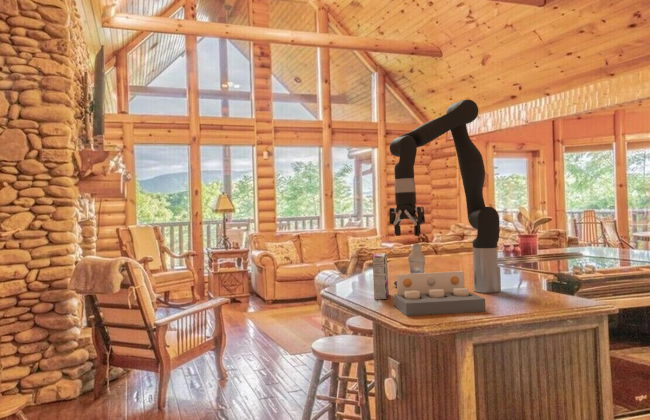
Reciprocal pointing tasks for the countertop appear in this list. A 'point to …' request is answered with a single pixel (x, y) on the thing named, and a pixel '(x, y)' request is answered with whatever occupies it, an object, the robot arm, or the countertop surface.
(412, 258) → the metal water bottle
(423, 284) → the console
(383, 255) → the candy bar box
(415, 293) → the button
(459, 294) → the button
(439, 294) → the button middle
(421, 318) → the countertop surface
